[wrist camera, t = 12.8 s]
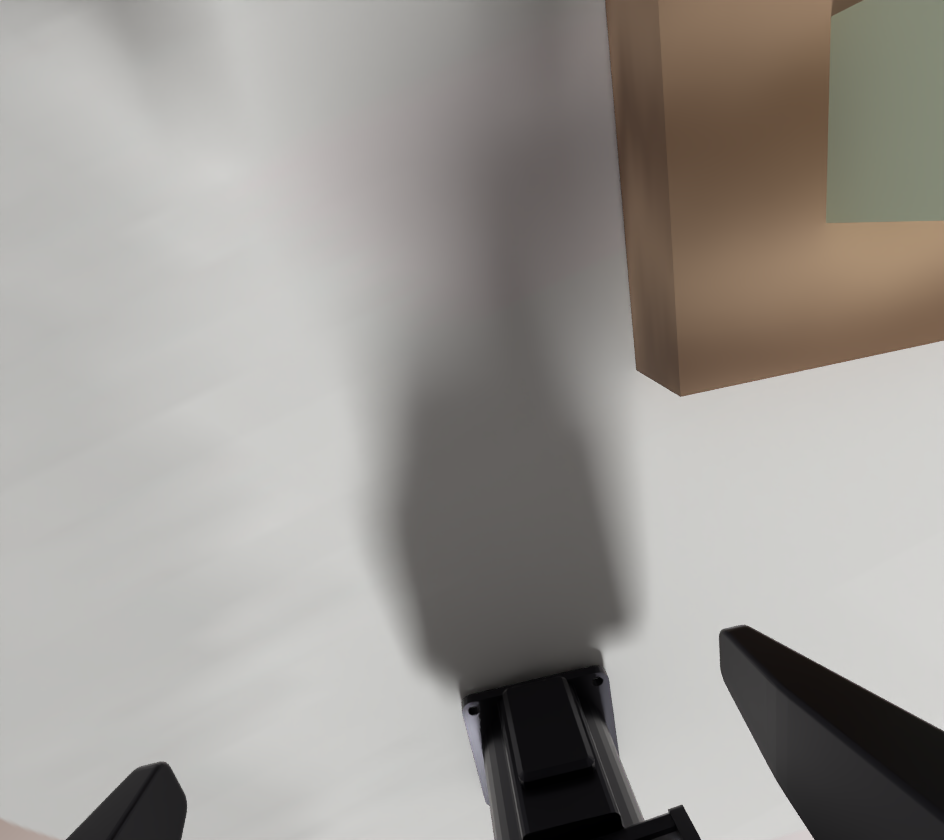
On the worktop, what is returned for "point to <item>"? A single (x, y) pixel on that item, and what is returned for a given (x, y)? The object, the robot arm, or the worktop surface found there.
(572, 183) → the worktop surface
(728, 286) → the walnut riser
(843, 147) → the sage block
